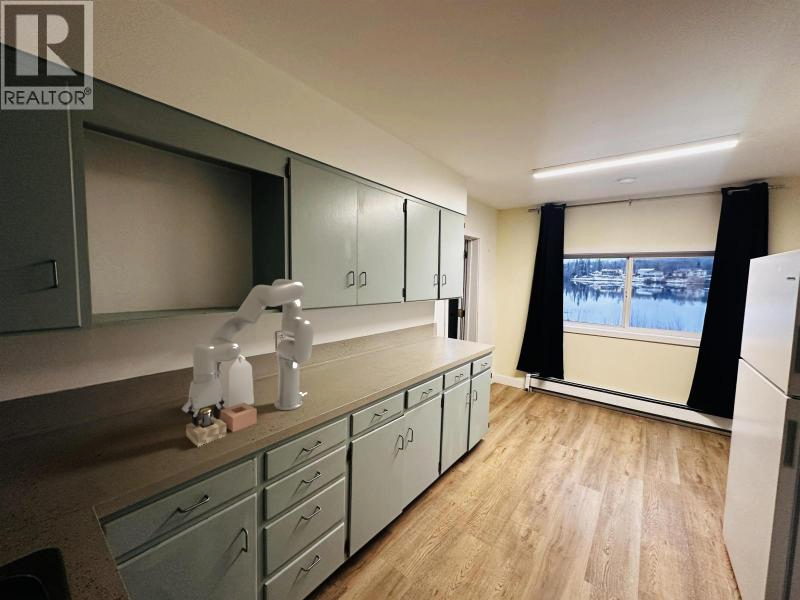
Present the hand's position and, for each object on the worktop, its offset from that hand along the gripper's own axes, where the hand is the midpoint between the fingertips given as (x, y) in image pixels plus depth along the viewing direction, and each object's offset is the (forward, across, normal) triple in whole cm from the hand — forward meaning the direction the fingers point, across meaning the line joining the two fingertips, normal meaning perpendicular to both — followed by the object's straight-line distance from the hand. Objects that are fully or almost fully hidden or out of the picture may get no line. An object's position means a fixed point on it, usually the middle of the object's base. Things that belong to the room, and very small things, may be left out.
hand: (206, 421), depth 124 cm
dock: (+6, -13, -1) cm, 14 cm away
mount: (+6, 0, 0) cm, 6 cm away
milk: (+6, -22, -21) cm, 31 cm away
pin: (+6, 0, 0) cm, 6 cm away
